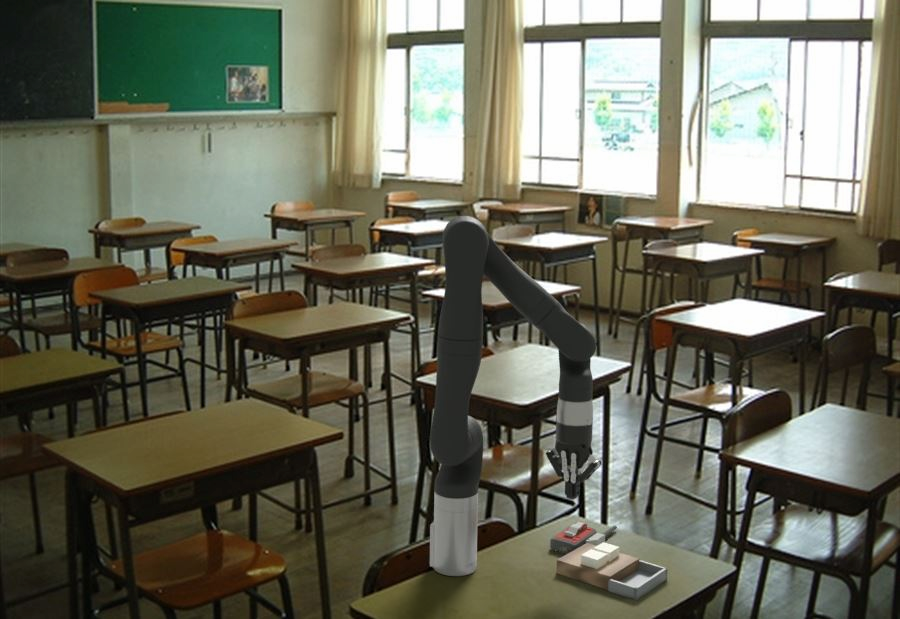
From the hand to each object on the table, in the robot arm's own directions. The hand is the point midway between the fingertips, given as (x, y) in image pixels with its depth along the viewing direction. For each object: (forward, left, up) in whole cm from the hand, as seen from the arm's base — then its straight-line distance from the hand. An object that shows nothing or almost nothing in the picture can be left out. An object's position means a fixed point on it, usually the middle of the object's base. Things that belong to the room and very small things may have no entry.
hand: (572, 497), depth 240 cm
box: (+15, +2, -16) cm, 22 cm away
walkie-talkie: (-6, +15, -17) cm, 23 cm away
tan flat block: (+5, +2, -16) cm, 17 cm away
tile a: (+6, 0, -13) cm, 14 cm away
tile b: (+6, +5, -13) cm, 15 cm away
